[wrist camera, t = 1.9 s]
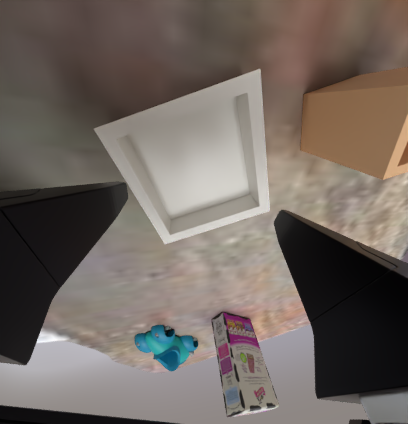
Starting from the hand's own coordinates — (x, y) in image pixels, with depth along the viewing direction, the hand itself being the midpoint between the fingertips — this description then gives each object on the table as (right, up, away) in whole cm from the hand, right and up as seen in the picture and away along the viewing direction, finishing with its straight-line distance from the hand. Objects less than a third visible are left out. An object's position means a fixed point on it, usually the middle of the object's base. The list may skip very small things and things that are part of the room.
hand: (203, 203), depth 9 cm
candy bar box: (+7, -30, +35) cm, 47 cm away
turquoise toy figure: (-10, -36, +37) cm, 53 cm away
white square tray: (-1, +5, +11) cm, 12 cm away
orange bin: (+14, +11, +9) cm, 20 cm away
